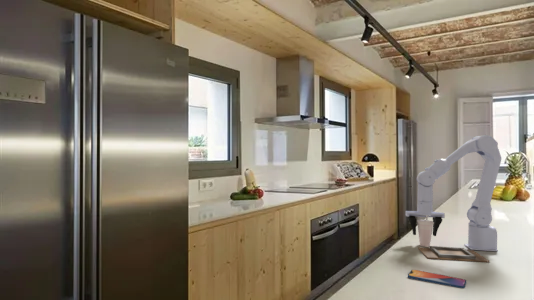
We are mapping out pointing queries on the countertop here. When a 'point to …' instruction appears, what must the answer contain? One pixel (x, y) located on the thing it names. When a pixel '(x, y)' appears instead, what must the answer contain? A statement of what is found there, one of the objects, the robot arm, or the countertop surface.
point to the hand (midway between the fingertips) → (424, 235)
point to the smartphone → (437, 278)
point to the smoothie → (425, 231)
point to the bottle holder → (452, 254)
